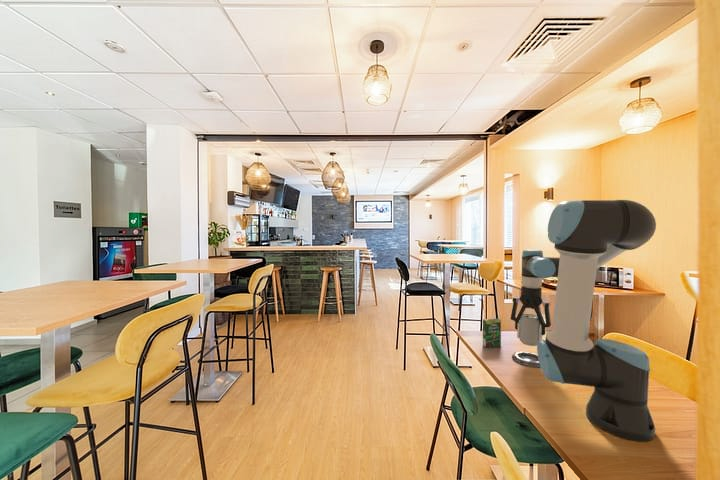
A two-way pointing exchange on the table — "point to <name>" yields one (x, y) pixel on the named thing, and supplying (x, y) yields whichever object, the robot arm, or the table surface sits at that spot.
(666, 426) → the table surface
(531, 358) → the flange socket
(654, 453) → the table surface
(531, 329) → the can
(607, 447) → the table surface
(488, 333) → the coffee box
